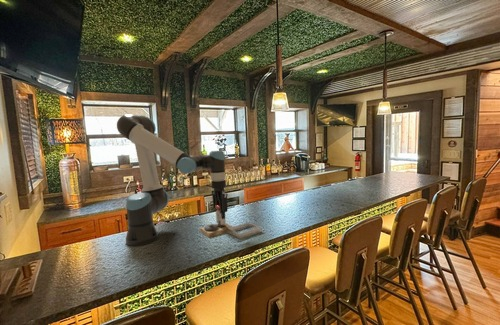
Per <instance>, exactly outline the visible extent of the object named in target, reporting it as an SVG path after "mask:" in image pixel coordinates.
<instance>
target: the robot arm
mask: <svg viewBox="0 0 500 325" xmlns="http://www.w3.org/2000/svg"><path fill="white" fill-rule="evenodd" d="M116 129H117V132H118V133H119V134H120V135H121V136H122V137H124V138H125V139H126V140H129V141H130V142H131V143H132V144H134V146H135V150H136V151H135V152H136V156H137V162H138V167H139V171H140V177H141V182H142V186H143V188H142V189H141V190H140V191H141V192H138V193H135V194H131V195H130V196H128V197H127V198H126V200H125V202H126V203H125V207H126V214H127V216H126V217H127V224H128V226H127V227H128V228H127V229H128V230H127V232H126V235H125V243H126V245H127V246H131V247H139V246H144V245H147V244H151V243H153V242H156V241H157V239H159V233H158V231H157V228H156V226H155V224H154V217H153V215H155V214H156V213H159V212H161V211H163V210H165V208H166V207H168V206H169V201H170V196H169V194H168V192H167V191H166V190H165V189H164V186H163V185H162V184H160V179H159V174H158V169H157V164H156V159H155V154H156V155H157V156H159V157H160V158H162V159H164V160H165V161H167V162H168V163H171V164H172V165H174V166H175V167H177V169H178V171H179V173H182V174H191V173H193V172H197V171H200V170H210V180H211V188H212V189H213V190H211V195H212V208H213V210H214V211H215V216H216V217H215V219H216V224H218V220H217V209H216V208H215V205H218V204H220V211H221V212H219V213H220V225H223V224H227V223H226V212H228V194H229V193H226V192H225V188H226V187H227V181H226V164H225V162H226V161H225V160H226V158H225V153H224V152H225V151H223V150H211V151H209V154H200V155H198V154H197V155H196V154H195V155H189V154H187V153H186V152H185V151H183V150H181V149H179V148H177V147H175V146H174V145H172V144H171V143H169V142H167V141H166V140H164V139H162V138H161V137H159V136H157V135H156V134H155V132H156V129H157V128H156V124H155V122H154V121H153V120H152V119H151V118H149V117H147V116H145V115H136V114H123V115H122V116H120V117H119V119H117V121H116Z"/></svg>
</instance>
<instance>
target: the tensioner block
mask: <svg viewBox="0 0 500 325" xmlns="http://www.w3.org/2000/svg"><path fill="white" fill-rule="evenodd" d="M230 227H233V226H232V225H230V224H228V223H226V224H225V227H223V228H218V223H214V224H213V223H210V224H206V225H205V226H203V227H201V228H199V231H200V233H201V234H202V235H204V236H206V237H207V238H212V237H215V236H218V235H222V234H225V233H228V228H230Z"/></svg>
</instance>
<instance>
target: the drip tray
mask: <svg viewBox="0 0 500 325" xmlns="http://www.w3.org/2000/svg"><path fill="white" fill-rule="evenodd" d="M246 228H249V229H250V230H248V231H244V232H237V231H241V230H243V229H246ZM227 233H228V234H229V235H231V236H234V237H235V238H236V239H239V240H241V239H244V238H247V237H250V236H253V235H257V234H259V233H262V227H261V226H258V225H256V224H253V223H251V222H245V223H241V224H238V225H234V226H232V227H230V228H228V232H227Z"/></svg>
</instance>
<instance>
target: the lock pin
mask: <svg viewBox="0 0 500 325" xmlns="http://www.w3.org/2000/svg"><path fill="white" fill-rule="evenodd" d="M215 208H216V209H217V220H218V223H217V224H218V228H223V227H225V224H223V225H220V213H219V212H221V211H220V204H218V205H215Z"/></svg>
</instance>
